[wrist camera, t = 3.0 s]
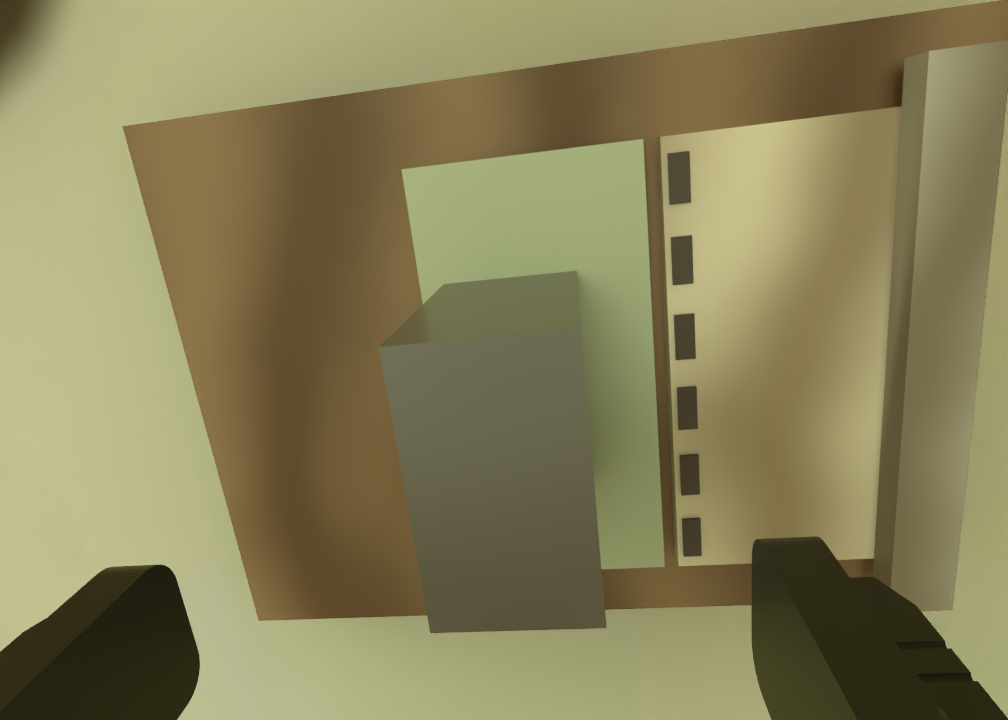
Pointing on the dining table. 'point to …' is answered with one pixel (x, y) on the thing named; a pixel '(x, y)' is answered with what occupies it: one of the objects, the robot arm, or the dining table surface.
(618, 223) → the green plate with block
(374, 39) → the dining table surface
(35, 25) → the dining table surface
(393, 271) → the brown board
